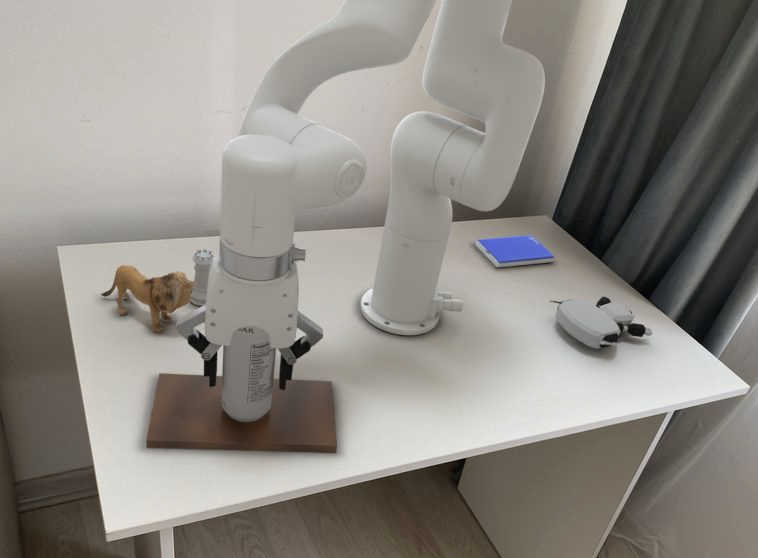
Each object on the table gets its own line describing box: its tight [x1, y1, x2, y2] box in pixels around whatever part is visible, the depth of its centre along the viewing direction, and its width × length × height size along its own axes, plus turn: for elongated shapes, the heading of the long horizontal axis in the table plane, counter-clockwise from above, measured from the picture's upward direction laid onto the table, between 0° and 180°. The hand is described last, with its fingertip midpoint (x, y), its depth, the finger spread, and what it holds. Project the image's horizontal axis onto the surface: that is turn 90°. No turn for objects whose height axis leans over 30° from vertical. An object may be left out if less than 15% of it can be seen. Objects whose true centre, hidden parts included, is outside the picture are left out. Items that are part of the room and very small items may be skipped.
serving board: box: [145, 372, 338, 453], centre depth 91 cm, size 22×12×1 cm, turn 98°
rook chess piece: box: [189, 248, 215, 307], centre depth 107 cm, size 4×4×8 cm
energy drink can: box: [221, 326, 277, 422], centre depth 86 cm, size 6×6×15 cm
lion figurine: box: [100, 264, 195, 333], centre depth 101 cm, size 15×5×9 cm, turn 70°
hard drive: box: [475, 234, 555, 268], centre depth 138 cm, size 2×8×12 cm
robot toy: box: [548, 295, 653, 349], centre depth 120 cm, size 12×4×15 cm
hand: (247, 380), depth 88 cm, fingers open, 7 cm apart
